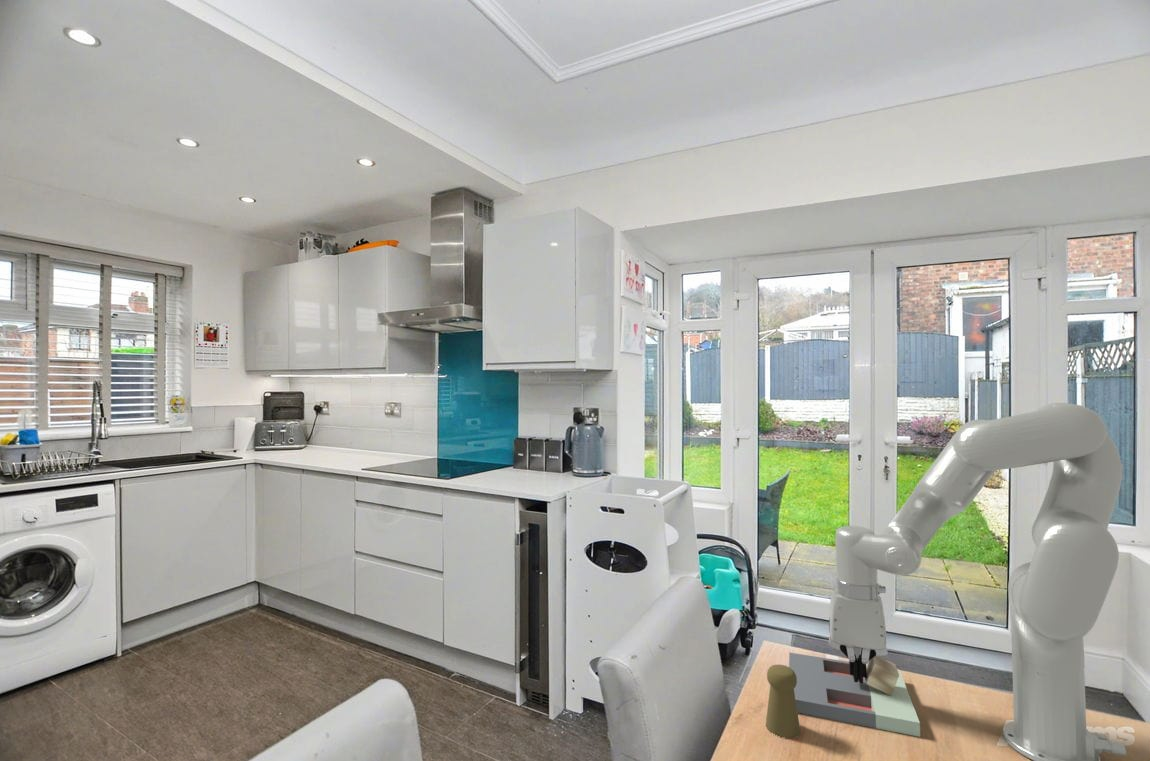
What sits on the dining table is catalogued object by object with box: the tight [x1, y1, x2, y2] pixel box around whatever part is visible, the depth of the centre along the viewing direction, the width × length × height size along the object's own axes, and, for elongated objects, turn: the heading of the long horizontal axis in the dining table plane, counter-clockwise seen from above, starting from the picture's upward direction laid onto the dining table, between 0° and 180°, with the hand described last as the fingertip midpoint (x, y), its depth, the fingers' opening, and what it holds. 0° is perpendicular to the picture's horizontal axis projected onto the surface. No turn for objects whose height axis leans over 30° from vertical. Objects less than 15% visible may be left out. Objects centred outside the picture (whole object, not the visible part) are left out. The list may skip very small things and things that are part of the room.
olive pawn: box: [765, 664, 801, 739], centre depth 101 cm, size 6×6×11 cm
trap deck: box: [788, 652, 921, 738], centre depth 111 cm, size 22×20×2 cm
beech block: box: [865, 656, 899, 695], centre depth 109 cm, size 4×4×4 cm
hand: (858, 679), depth 110 cm, fingers closed
